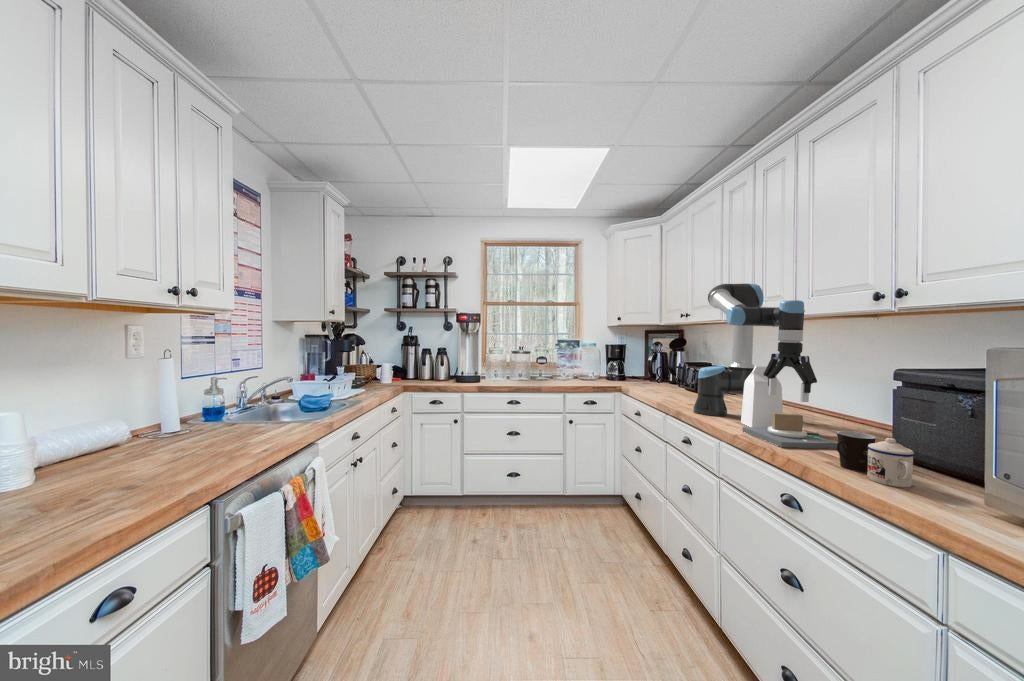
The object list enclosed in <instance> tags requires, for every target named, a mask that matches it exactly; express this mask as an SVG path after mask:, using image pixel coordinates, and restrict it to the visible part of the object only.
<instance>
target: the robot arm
mask: <svg viewBox="0 0 1024 681" xmlns="http://www.w3.org/2000/svg"><path fill="white" fill-rule="evenodd" d="M707 301H708V303H709V305H710V306H712V307H713V308H714V309H719V311H721V312H722V313H724V314H725V319H726V323H727V324H728V325H729V326H732V328H733V329H732V349H731V350H732V352H731V353H732V354H731V357H732V358H731V362H730V363H729V364H728V366H727V369H726V368H725V366H721V365H719V366H715V365H714V366H705V367H701V368H699V370H698V376H697V381H698V382H697V398H696V399H695V402H694V405H693V410H692V411H693V412H694V413H695V412H696V414H699V413H700V415H705V416H714V417H715V416H716V417H720V416H721V417H722V416H723V417H724V416H727V415H728V409H727V404H726V401H725V399H724V396H725V394H739V395H740V394H741V395H743V392H744V382H745V380H746V379H747V377H748V376H749V375H750V374H751V372H752V371H753V369H754V367H755V366H756V365H754V364H753V351H754V350H753V348H754V347H753V346H754V344H753V343H754V327H776V328H778V335H777V337H778V338H777V341H779V342H777V352H778V353H771V356H770V360H769V362H768V364H767V368H766V370H765V372H764V376H767V377H768V386H769V395H776V385H777V379H778V378H777V379H774V378H775V377H777V376H778V375H779V374H780V372H781V371H782V370H783V369H784V368H785V367H787V368H792V369H794V370H795V372H796V374H797V376H798V377H799V378H800V380H801V381H802V383H800V398H799V399H800V401H799V402H800V403H809V401H810V400H809V398H810V397H809V396H810V393H811V391H812V384H816V383H818V379H817V377H816V375H815V372H814V370H813V367H812V365H811V362H810V356H809V355H801V354H802V353H803V346H804V345H803V340H804V339H803V338H804V324H805V323H804V322H805V312H806V310H805V302H804V301H803V300H799V299H798V300H796V299H794V300H790V299H789V300H782V301H780V302H779V306H778V307H776V306H775V307H772V306H771V307H768V306H767V307H766V306H764V307H762V306H763V303H764V293H763V290H762V287H761V286H760V285H758V284H757V283H722V284H719V285H715V286H714V287H713V288H712V289H711V290H710V291H709V292H708V294H707Z"/></svg>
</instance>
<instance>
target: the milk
mask: <svg viewBox="0 0 1024 681" xmlns="http://www.w3.org/2000/svg"><path fill="white" fill-rule="evenodd" d="M754 366H755V367H754V369H753V371H752V372H751V374H750V375H749V376H748V377H747V379H746V380H745V382H744V392H743V394H742V404H741V419H740V423H741V424H743V425H744V424H745V425H744V426H746V425H747V426H746V427H748V426H749V427H770V426H772V416H773V413H784V410H783V387H782V384H781V382H780V380H779V379H778V377H777V376H776V377H775V378H774V379H777V385H776V395H769V386H768V377H767V376H764V372H765V370H766V368H767V366H768V365H767V366H765V365H754Z"/></svg>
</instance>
